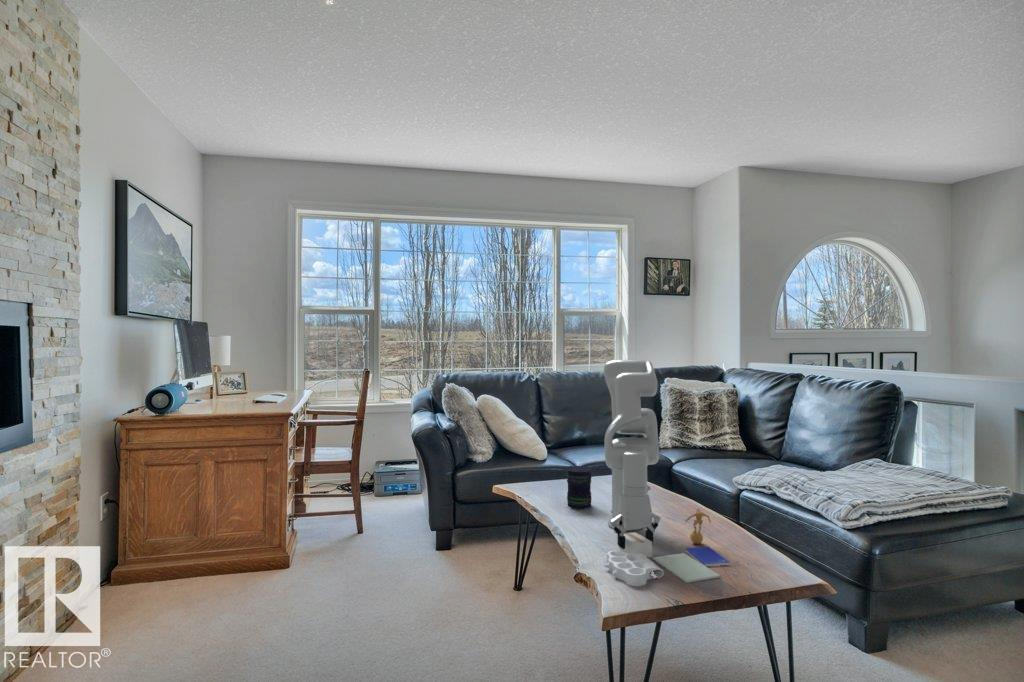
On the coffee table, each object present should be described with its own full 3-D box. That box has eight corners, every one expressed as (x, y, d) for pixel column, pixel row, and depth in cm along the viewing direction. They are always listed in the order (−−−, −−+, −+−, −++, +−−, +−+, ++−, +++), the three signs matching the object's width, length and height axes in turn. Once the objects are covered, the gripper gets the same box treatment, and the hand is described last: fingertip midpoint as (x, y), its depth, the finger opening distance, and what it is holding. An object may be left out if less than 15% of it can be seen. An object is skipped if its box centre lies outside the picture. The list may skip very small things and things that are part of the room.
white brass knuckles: (669, 584, 150) (620, 589, 147) (640, 558, 167) (595, 563, 164) (669, 571, 150) (620, 577, 147) (640, 547, 167) (595, 552, 164)
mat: (652, 559, 166) (652, 557, 166) (683, 554, 169) (683, 553, 169) (686, 582, 149) (686, 580, 149) (720, 577, 153) (720, 575, 153)
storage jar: (565, 502, 225) (565, 466, 225) (589, 501, 226) (588, 466, 226) (569, 509, 215) (568, 472, 215) (593, 509, 216) (593, 471, 216)
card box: (619, 550, 174) (619, 534, 174) (635, 547, 176) (635, 531, 176) (635, 560, 165) (635, 543, 165) (652, 557, 168) (651, 541, 168)
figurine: (706, 541, 181) (706, 504, 181) (713, 547, 175) (713, 510, 175) (682, 541, 181) (681, 505, 181) (688, 548, 174) (687, 510, 175)
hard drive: (730, 561, 161) (709, 546, 173) (704, 563, 160) (685, 547, 172) (730, 566, 161) (709, 551, 173) (704, 568, 160) (685, 552, 172)
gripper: (652, 486, 177) (653, 539, 176) (604, 490, 172) (605, 545, 171) (665, 491, 170) (666, 547, 169) (616, 496, 164) (616, 553, 164)
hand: (635, 545), depth 170 cm, fingers open, 9 cm apart
